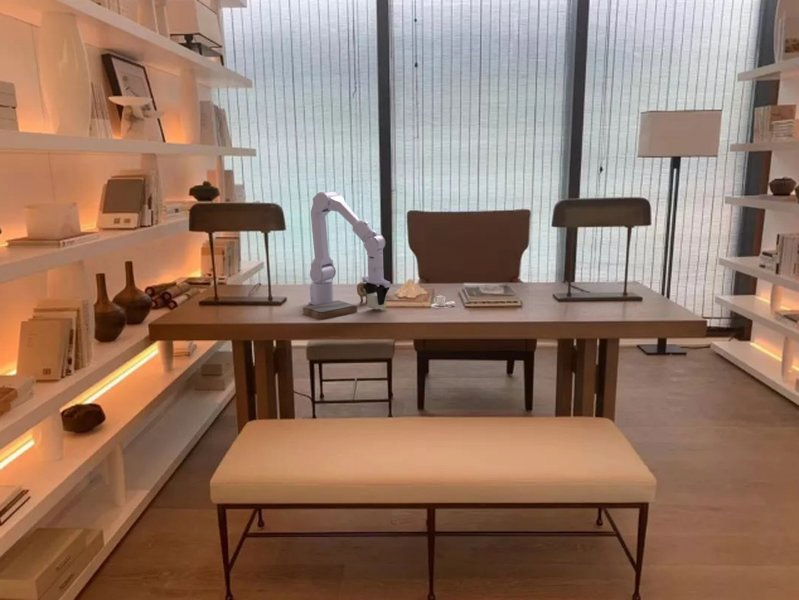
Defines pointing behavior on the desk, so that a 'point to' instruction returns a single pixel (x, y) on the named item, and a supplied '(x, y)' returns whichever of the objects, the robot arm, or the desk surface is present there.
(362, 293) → the lion figurine
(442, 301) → the teacup and saucer
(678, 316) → the desk surface
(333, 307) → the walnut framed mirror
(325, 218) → the robot arm
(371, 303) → the sage block
